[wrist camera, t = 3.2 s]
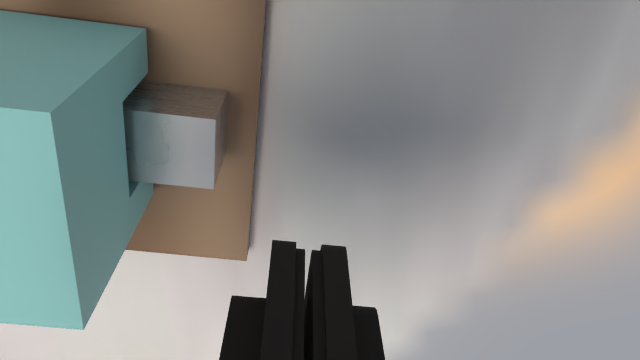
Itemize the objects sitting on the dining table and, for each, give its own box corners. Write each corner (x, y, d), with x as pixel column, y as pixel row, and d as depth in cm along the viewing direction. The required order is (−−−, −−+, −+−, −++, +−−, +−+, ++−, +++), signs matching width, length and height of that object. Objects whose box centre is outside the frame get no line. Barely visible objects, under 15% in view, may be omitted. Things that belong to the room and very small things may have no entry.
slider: (145, 28, 15) (50, 112, 10) (153, 193, 18) (83, 329, 13) (-25, 6, 15) (-225, 82, 10) (11, 179, 18) (-124, 312, 13)
